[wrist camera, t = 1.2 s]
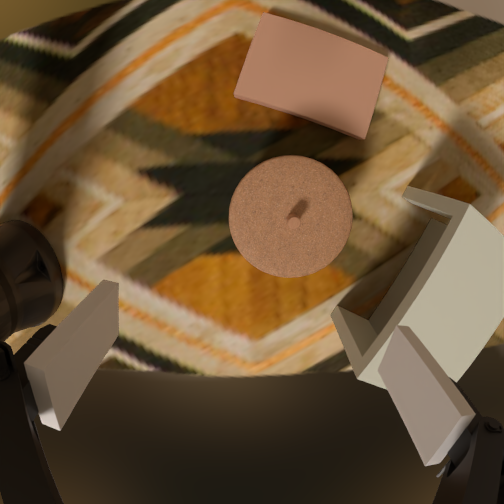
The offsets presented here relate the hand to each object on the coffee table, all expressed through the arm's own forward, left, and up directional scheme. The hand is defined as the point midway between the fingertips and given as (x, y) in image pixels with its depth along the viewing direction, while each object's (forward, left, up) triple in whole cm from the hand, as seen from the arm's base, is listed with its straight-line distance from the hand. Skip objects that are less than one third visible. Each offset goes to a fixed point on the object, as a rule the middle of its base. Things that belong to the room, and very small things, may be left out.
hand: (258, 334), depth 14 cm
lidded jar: (+2, +3, -22) cm, 23 cm away
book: (-2, +17, -23) cm, 29 cm away
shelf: (+19, +3, -22) cm, 29 cm away
